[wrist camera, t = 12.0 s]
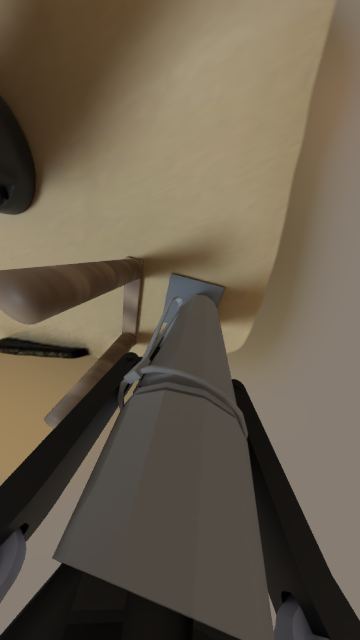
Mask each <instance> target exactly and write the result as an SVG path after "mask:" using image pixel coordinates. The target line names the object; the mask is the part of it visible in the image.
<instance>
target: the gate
mask: <svg viewBox="0 0 360 640" xmlns="http://www.w3.org/2000/svg"><path fill="white" fill-rule="evenodd" d="M142 272H143V261H142V260H138V259H134V258H131V257H126V259H123V260H111V261H100V262H89V263H78V264H67V265H56V266H45V267H34V268H23V269H12V270H1V271H0V309H1V310H2V311H3V312H4V313H5V314H6V315H8V316H9V317H11V318H12V319H14V320H16V321H18V322H21V323H24V324H36V323H38V322H41V321H43V320H45V319H48V318H50V317H52V316H54V315H57V314H59V313H61V312H64V311H66V310H68V309H70V308H73V307H75V306H77V305H80V304H82V303H84V302H86V301H89V300H91V299H93V298H96V297H98V296H100V295H102V294H105V293H107V292H109V291H111V290H114V289H116V288H118V287H121V286H123V285H124V305H123V328H122V335H121V336H120V337H119V338H118V339H117V340H116V341H115V342H114V343H113V344H112V345H111V347H110V348H109V349H108V350H107V351H106V352H105V353H104V354H103V355H102V356H101V357H100V358H99V359H98V361H97V362H96V363H95V364H94V365H93V366H92V367H91V368H90V369H89V370H88V371H87V373H86V374H85V375H84V376H83V377H82V378H81V379H80V380H79V381H78V382H77V383H76V384H75V385H74V386H73V387H72V389H71V390H70V391H69V392H68V393H67V394H66V395H65V396H64V397H63V398H62V399H61V400H60V402H59V403H58V404H57V405H56V406H55V407H54V408H53V409H52V410H51V412H49V413H48V414H47V415H46V417H45V418H44V421H45V422H46V424H47V425H49V426H50V427H51V428H53V429H54V428H55V427H56V426H57V425H58V424H59V423H60V422H61V421H62V420H63V419H64V418H65V417H66V416H67V415H68V413H69V412H70V411H71V410H72V409H73V408H74V407H75V406H76V405H77V404H78V403H79V402H80V401H81V400H82V399H83V397H84V396H85V395H86V394H87V393H88V392H89V391H90V390H91V389H92V388H93V387H94V386H95V385H96V384H97V383H98V381H99V380H100V379H101V378H102V377H103V376H104V375H105V374H106V373H107V372H108V371H109V370H110V369H111V368H112V367H113V365H114V364H115V363H116V362H117V361H118V360H119V359H120V358H121V357H122V356H123V355H124V354H125V353H128V352H129V351H130V349H131V348H132V346H134V345H135V341H136V331H137V321H138V311H139V301H140V291H141V281H142Z"/></svg>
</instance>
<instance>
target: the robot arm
mask: <svg viewBox="0 0 360 640" xmlns="http://www.w3.org/2000/svg"><path fill="white" fill-rule="evenodd" d="M34 190H35V173H34V166H33V161H32V157H31V153H30V150H29V147H28V144H27V142H26V139H25V137H24V134H23V132H22V130H21V128H20V126H19V124H18V122H17V120H16V119H15V117H14V115H13V114H12V112H11V111H10V109H9V107H8V106H7V105H6V103H5V102H4V101H3V99H2V98H1V97H0V213H3V214H11V215H12V214H18V213H21V212H23V211H24V210H25V209H26V208H27V207H28V206H29V205H30V203H31V201H32V198H33V195H34ZM163 338H164V337H162V339H161V341H160V342H159V344H158V345H157V347H156V348H155V350H154V352H153V353H152V355H151V356H150V358H149V360H150V361H151V362H152V360H153V359H154V357H155V356H156V354H157V353H158V352H159V351H160V348H161V347H159V346H160V344H161V342H162V340H163ZM157 339H158V338H157ZM142 358H143V357H138V355H137V354H135V353H133V352H128V353H125V354H124V355H123V356H122V357H121V358H120V359H119V360H118V361H117V362H116V363H115V364H114V365H113V367H112V368H111V369H110V370H109V371H108V372H107V373H106V374H105V375H104V376H103V377H102V378H101V379H100V380H99V381H98V383H97V384H96V385H95V386H94V387H93V388H92V389H91V390H90V391H89V392H88V393H87V394H86V395H85V396H84V397H83V399H82V400H81V401H80V402H79V403H78V404H77V405H76V406H75V407H74V408H73V409H72V410H71V411H70V412H69V413H68V415H67V416H66V417H65V418H64V419H63V420H62V421H61V422H60V423H59V424H58V425H57V426H56V427H55V428H54V429H53V431H52V432H51V433H50V434H49V435H48V436H47V437H46V438H45V439H44V440H43V441H42V442H41V444H39V445H38V447H37V448H36V449H35V450H34V451H33V452H32V453H31V454H30V455H29V456H28V457H27V458H26V459H25V461H23V462H22V464H21V465H20V466H19V467H18V468H17V469H16V470H15V471H14V472H13V473H12V474H11V475H10V476H9V477H8V479H7V480H6V481H5V482H4V483H3V484H2V485H1V486H0V603H1V601H2V600H3V598H4V596H5V595H6V593H7V592H8V590H9V589H10V587H11V586H12V584H13V583H14V581H15V579H16V578H17V576H18V574H19V572H20V570H21V567H22V564H23V562H24V559H25V554H26V541H27V540H28V539H29V538H30V537H31V535H32V534H33V533H34V531H35V530H36V529H37V528H38V526H39V525H40V524H41V522H42V521H43V519H45V517H46V516H47V515H48V513H49V512H50V510H51V509H52V507H53V506H54V504H55V503H56V501H57V500H58V499H59V497H60V496H61V494H62V492H63V491H64V489H65V488H66V486H67V485H68V483H69V482H70V480H71V478H72V477H73V475H74V474H75V472H76V471H77V469H78V468H79V466H80V465H81V463H82V462H83V460H84V459H85V457H86V455H87V454H88V452H89V451H90V449H91V448H92V446H93V445H94V443H95V442H96V440H97V438H98V437H99V435H100V434H101V432H102V431H103V429H104V428H105V426H106V425H107V423H108V422H109V420H110V418H111V417H112V415H113V414H114V412H115V410H116V409H117V408H118V406H119V403H118V393H119V388H120V383H121V382H122V381H123V380H124V379H125V378H124V376H125V375H126V374H127V373H128V372H129V371H130V370H131V369H132V368H134V367H135V366H136V365H137V364H138V363H139V362H140V361H141V360H142ZM151 362H150V364H151ZM150 364H149V365H148V366H150ZM144 375H145V373H144V374H143V375H142V378H140V379H141V381H142V379H143V377H144ZM140 379H139V380H140ZM141 381H140V383H141ZM133 383H134V382H133ZM133 383H132V384H133ZM132 384H129V383H128V385H127V386H126V388H125V391H124V396H125V395H126V394H127V392H128V391H129V389H130V388H131V386H132ZM232 384H233V389H234V394H235V399H236V404H237V407H238V408H239V409H240V410H241V411H242V413H243V416H244V420H245V424H246V428H247V432H248V436H247V443H248V450H249V457H250V464H251V472H252V479H253V486H254V494H255V501H256V508H257V516H258V523H259V530H260V538H261V545H262V552H263V560H264V567H265V574H266V582H267V589H268V593H269V596H270V599H271V601H272V604H273V606H274V609H275V612H276V626H275V629H274V640H360V620H359V619H358V617H357V616H356V614H355V612H354V611H353V609H352V607H351V606H350V604H349V602H348V601H347V599H346V598H345V596H344V594H343V593H342V591H341V589H340V588H339V586H338V584H337V583H336V581H335V579H334V578H333V576H332V574H331V572H330V570H329V568H328V566H327V564H326V561H325V559H324V557H323V555H322V553H321V551H320V549H319V546H318V544H317V542H316V540H315V538H314V536H313V534H312V531H311V529H310V527H309V525H308V523H307V520H306V518H305V516H304V514H303V512H302V510H301V507H300V505H299V503H298V501H297V499H296V497H295V495H294V492H293V490H292V488H291V486H290V484H289V482H288V479H287V477H286V475H285V473H284V471H283V469H282V466H281V464H280V462H279V460H278V458H277V456H276V454H275V451H274V449H273V447H272V445H271V443H270V441H269V438H268V436H267V434H266V432H265V430H264V428H263V426H262V423H261V421H260V419H259V417H258V415H257V412H256V411H255V408H254V406H253V404H252V402H251V400H250V397H249V395H248V393H247V391H246V389H245V387H244V385H243V384H242V383H241V382H240V381H238V380H236V379H232ZM139 388H141V386H140V384H139ZM0 640H240V639H238V638H236V637H233V636H231V635H229V634H226V633H224V632H222V631H220V630H217V629H215V628H213V627H210V626H208V625H206V624H203V623H201V622H199V621H197V620H194V619H192V618H189V617H187V616H184V615H182V614H180V613H177V612H175V611H173V610H170V609H168V608H166V607H164V606H161V605H159V604H157V603H154V602H152V601H150V600H147V599H145V598H143V597H141V596H138V595H136V594H134V593H131V592H129V591H128V590H125V589H123V588H121V587H118V586H116V585H114V584H111V583H109V582H107V581H105V580H102V579H100V578H98V577H95V576H93V575H91V574H88V573H86V572H84V571H81V570H78V569H76V568H74V567H71V566H69V565H67V564H64V563H62V564H61V565H60V566H59V568H58V569H57V570H56V571H55V572H54V574H53V575H52V576H51V577H50V578H49V579H48V580H47V582H46V583H45V584H44V585H43V586H42V587H41V589H40V590H39V591H38V592H37V593H36V594H35V595H34V597H33V598H32V599H31V600H30V601H29V603H28V604H27V605H26V606H25V607H24V608H23V610H22V611H21V612H20V613H19V614H18V615H17V617H16V618H15V619H14V620H13V621H12V623H11V624H10V625H9V626H8V627H7V628H6V629H5V631H4V632H3V633H2V634H1V635H0Z"/></svg>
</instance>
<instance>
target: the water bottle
mask: <svg viewBox="0 0 360 640" xmlns="http://www.w3.org/2000/svg"><path fill="white" fill-rule="evenodd" d="M173 300H176V301H177V302H178V309H177V310H176V312H175V313H174V315H173V316H172V318H171V319H170V321H169V322H168V324H167V325H166V327H165V328H164V330H163V331H162V333H161V334H160V336H159V337H158V339H157V340H156V338H157V336H158V334H159V331H160V329H161V327H162V324H163V322H164V320H165V317H166V315H167V313H168V311H169V308H170V306H171V304H172V301H173ZM166 331H167V332H166ZM164 334H165V335H164ZM163 336H164V338H163V340H162V342H161V344H160V346H159V347H161V348H160V351H159V352H158V353H157V354H156V356H155V357H154V359H153V360H152V362H151V361H150V360H149V358H150V356H151V355H152V353H153V352H154V350H155V348H156V347H157V345H158V344H159V342H160V341H161V339H162V337H163ZM155 340H156V342H155ZM150 362H151V364H150ZM149 364H150V366H148V365H149ZM144 373H145V375H144V377H143V379H142V381H141V379H140V378H142V375H143V374H144ZM124 378H125V379H124V380H123V381H122V382H121V383H120V388H119V393H118V403H119V408H120V413H119V415H118V417H117V419H116V421H115V424H114V426H113V428H112V430H111V432H110V434H109V437H108V439H107V441H106V443H105V445H104V447H103V449H102V452H101V454H100V456H99V458H98V461H97V462H96V465H95V467H94V469H93V471H92V473H91V476H90V478H89V480H88V482H87V484H86V486H85V488H84V490H83V493H82V495H81V497H80V499H79V502H78V503H77V506H76V508H75V510H74V512H73V514H72V516H71V519H70V521H69V523H68V525H67V527H66V529H65V531H64V534H63V536H62V538H61V540H60V542H59V544H58V547H57V549H56V551H55V553H54V555H53V557H52V558H53V559H55V560H57V561H59V562H61V563H64V564H67V565H69V566H71V567H74V568H76V569H78V570H81V571H84V572H86V573H88V574H91V575H93V576H95V577H98V578H100V579H102V580H105V581H107V582H109V583H111V584H114V585H116V586H118V587H121V588H123V589H125V590H128V591H129V592H131V593H134V594H136V595H138V596H141V597H143V598H145V599H147V600H150V601H152V602H154V603H157V604H159V605H161V606H164V607H166V608H168V609H170V610H173V611H175V612H177V613H180V614H182V615H184V616H187V617H189V618H192V619H194V620H197V621H199V622H201V623H203V624H206V625H208V626H210V627H213V628H215V629H217V630H220V631H222V632H224V633H226V634H229V635H231V636H233V637H236V638H238V639H240V640H274V633H273V625H272V618H271V611H270V603H269V596H268V589H267V582H266V574H265V567H264V560H263V552H262V545H261V538H260V530H259V523H258V516H257V508H256V501H255V494H254V486H253V479H252V472H251V464H250V457H249V450H248V443H247V436H248V432H247V428H246V424H245V420H244V416H243V413H242V411H241V410H240V409H239V408H238V407H237V404H236V399H235V394H234V389H233V384H232V379H231V375H230V370H229V365H228V360H227V355H226V350H225V345H224V340H223V335H222V330H221V325H220V320H219V315H218V311H217V308H216V305H215V303H214V301H212V300H211V299H210V298H208V297H207V296H205V295H197V294H195V295H193V296H190V297H188V298H186V299H185V301H184V302H183V303H182V299H181V298H180V297H179V296H175V297H174V298H173V299H171V300H170V301H169V302H168V304H167V307H166V309H165V311H164V313H163V315H162V317H161V319H160V322H159V324H158V326H157V328H156V330H155V332H154V334H153V336H152V339H151V341H150V343H149V345H148V347H147V349H146V351H145V354H144V356H143V358H142V360H141V361H140V362H139V363H138V364H137V365H136V366H135V367H134V368H132V369H131V370H130V371H129V372H128V373H127V374H126V375H125V376H124ZM139 379H140V380H139ZM137 380H139V382H138V384H137V386H136V388H135V390H134V391H133V395H132V396H131V397H130V398H129V400H128V401H127V402H126V403H125V405H124V391H125V388H126V386H127V385H128V383H129V384H132V383H133V382H135V381H137ZM140 381H141V383H140ZM139 384H140V386H141V388H139Z"/></svg>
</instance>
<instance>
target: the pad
mask: <svg viewBox="0 0 360 640" xmlns="http://www.w3.org/2000/svg"><path fill="white" fill-rule="evenodd" d="M224 289H225V288H224V287H221V286H218V285H214V284H210V283H206V282H203V281H199V280H195V279H191V278H188V277H184V276H180V275H176V274H173V273H171V276H170V282H169V287H168V292H167V297H166V302H165V307H164V311H165V309H166V307H167V304H168V302H169V301H170V300H171V299H173V298H174V297H175V296H179V297H180V298H181V299H182V303H183V302H184V301H185V299H186V298H188V297H190V296H193V295H195V294H197V295H205V296H207V297H208V298H210V299H211V300H212V301H214V303H215V305H216V308H217V307H218V304H219V302H220V299H221V297H222V294H223V292H224ZM177 309H178V302H177V301H176V300H173V301H172V304H171V306H170V308H169V311H168V313H167V315H166V317H165V320H164V322H165V323H168V322H169V321H170V319H171V318H172V316H173V315H174V313H175V312H176V310H177ZM163 313H164V312H163Z"/></svg>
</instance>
